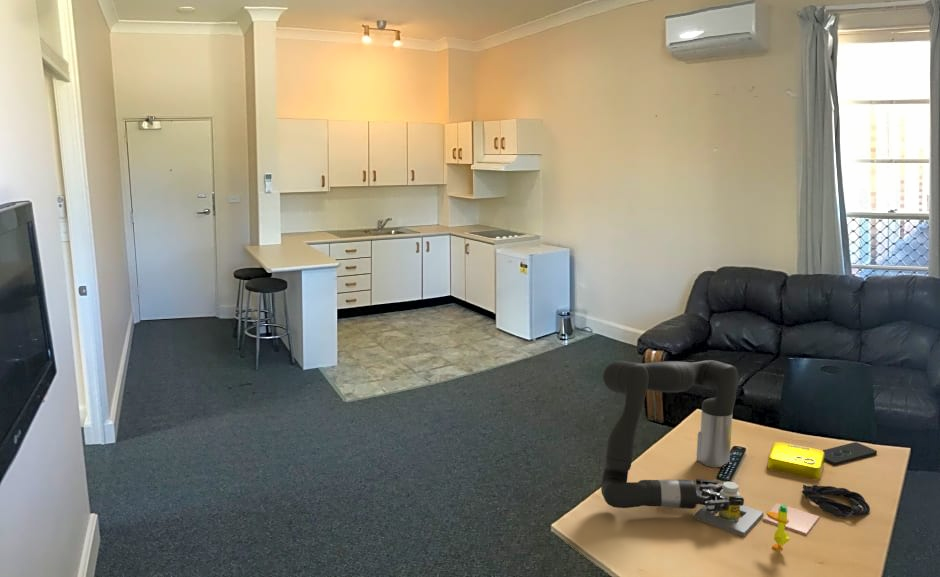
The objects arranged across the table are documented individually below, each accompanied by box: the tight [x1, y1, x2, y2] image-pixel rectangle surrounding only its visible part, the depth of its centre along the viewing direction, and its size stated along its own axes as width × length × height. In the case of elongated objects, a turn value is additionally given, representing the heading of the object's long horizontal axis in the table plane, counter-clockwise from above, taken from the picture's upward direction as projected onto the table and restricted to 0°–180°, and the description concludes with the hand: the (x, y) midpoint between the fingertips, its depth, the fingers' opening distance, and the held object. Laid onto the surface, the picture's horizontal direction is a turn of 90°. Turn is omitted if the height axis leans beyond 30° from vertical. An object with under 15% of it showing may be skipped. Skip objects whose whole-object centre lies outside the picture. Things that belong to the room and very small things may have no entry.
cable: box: [801, 484, 871, 518], centre depth 189 cm, size 17×14×4 cm
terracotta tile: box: [762, 502, 820, 536], centre depth 181 cm, size 11×11×1 cm
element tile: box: [767, 441, 825, 480], centre depth 212 cm, size 15×15×5 cm
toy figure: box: [765, 503, 792, 552], centre depth 167 cm, size 7×4×12 cm, turn 37°
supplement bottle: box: [718, 481, 742, 523], centre depth 182 cm, size 5×5×10 cm
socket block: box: [693, 497, 764, 538], centre depth 183 cm, size 14×14×1 cm
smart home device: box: [821, 441, 878, 466], centre depth 219 cm, size 8×2×20 cm
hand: (739, 495), depth 181 cm, fingers closed on supplement bottle, 5 cm apart
